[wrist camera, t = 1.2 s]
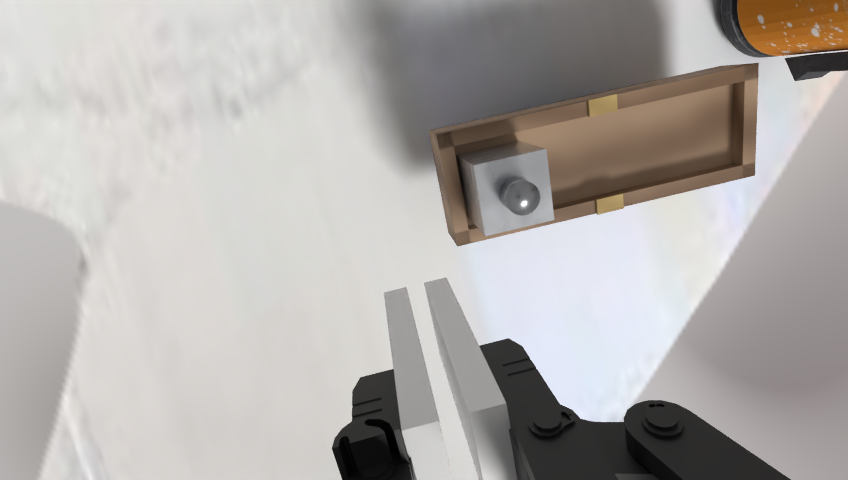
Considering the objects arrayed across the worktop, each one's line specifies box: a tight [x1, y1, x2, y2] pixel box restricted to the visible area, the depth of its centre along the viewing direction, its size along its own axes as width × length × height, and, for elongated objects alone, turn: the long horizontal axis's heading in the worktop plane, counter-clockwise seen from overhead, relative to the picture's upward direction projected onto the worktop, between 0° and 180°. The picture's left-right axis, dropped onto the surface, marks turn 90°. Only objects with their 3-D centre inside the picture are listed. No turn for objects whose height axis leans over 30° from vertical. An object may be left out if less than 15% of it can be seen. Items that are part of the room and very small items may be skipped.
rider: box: [457, 141, 554, 236], centre depth 30 cm, size 4×4×6 cm
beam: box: [429, 63, 759, 246], centre depth 36 cm, size 8×23×8 cm, turn 101°
